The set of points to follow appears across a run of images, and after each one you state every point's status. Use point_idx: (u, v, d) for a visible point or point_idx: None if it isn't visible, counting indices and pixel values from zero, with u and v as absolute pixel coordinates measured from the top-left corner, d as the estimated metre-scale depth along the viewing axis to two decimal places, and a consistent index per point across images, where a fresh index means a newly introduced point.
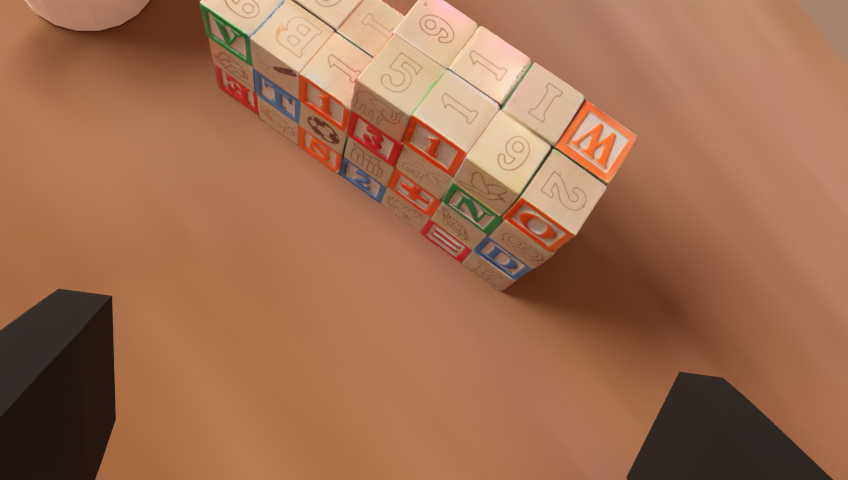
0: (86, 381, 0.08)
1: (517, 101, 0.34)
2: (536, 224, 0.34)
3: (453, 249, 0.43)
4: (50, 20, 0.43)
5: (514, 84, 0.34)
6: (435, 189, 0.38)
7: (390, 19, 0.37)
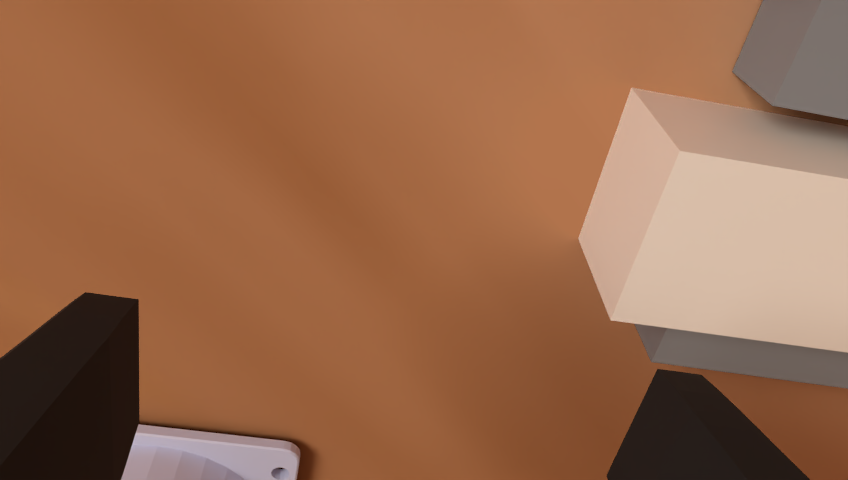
0: (114, 384, 0.08)
1: None
2: None
3: None
4: None
5: None
6: None
7: None
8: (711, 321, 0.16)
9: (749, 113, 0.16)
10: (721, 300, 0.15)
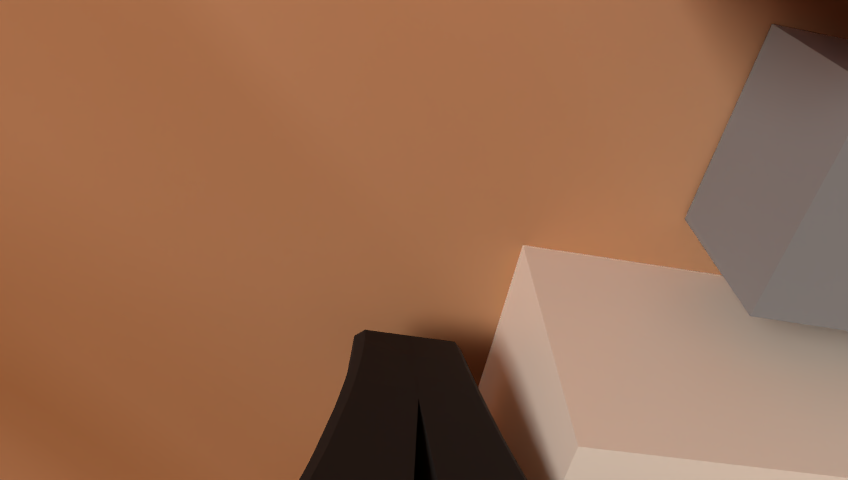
0: None
1: None
2: None
3: None
4: None
5: None
6: None
7: None
8: None
9: (728, 294, 0.09)
10: None
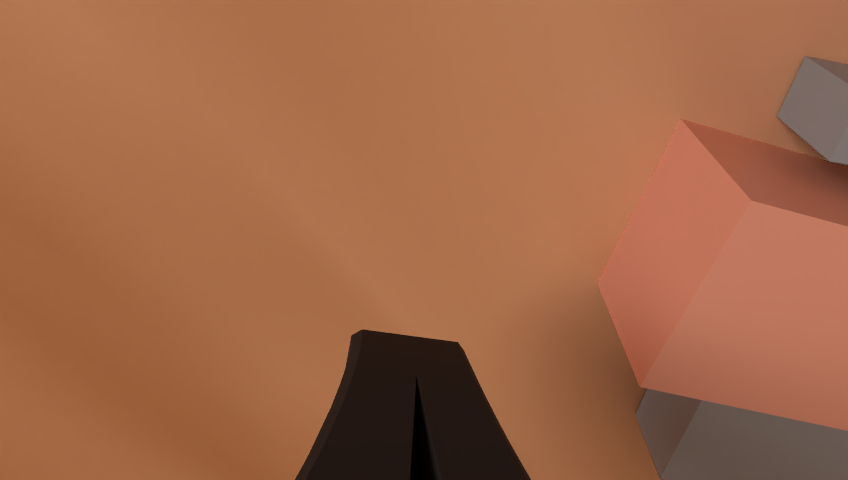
0: None
1: None
2: None
3: None
4: None
5: None
6: None
7: None
8: None
9: None
10: None
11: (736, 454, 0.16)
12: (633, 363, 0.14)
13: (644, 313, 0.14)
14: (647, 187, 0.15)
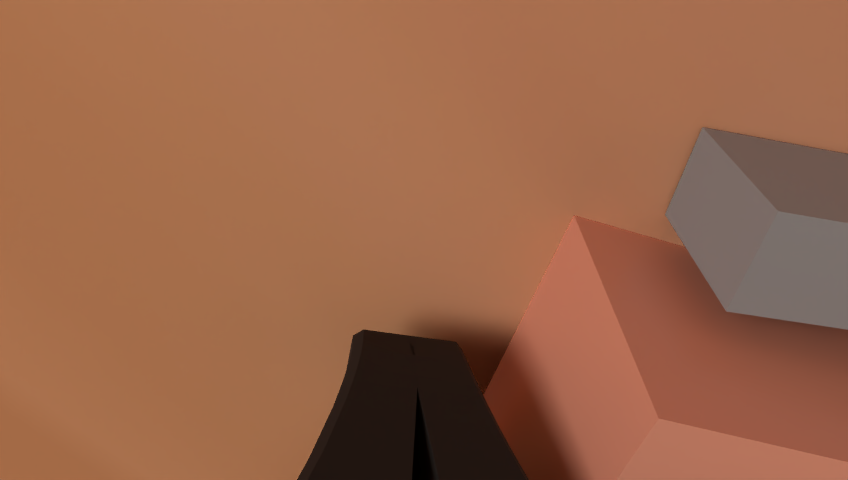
0: None
1: None
2: None
3: None
4: None
5: None
6: None
7: None
8: None
9: None
10: None
11: None
12: None
13: None
14: (531, 318, 0.10)
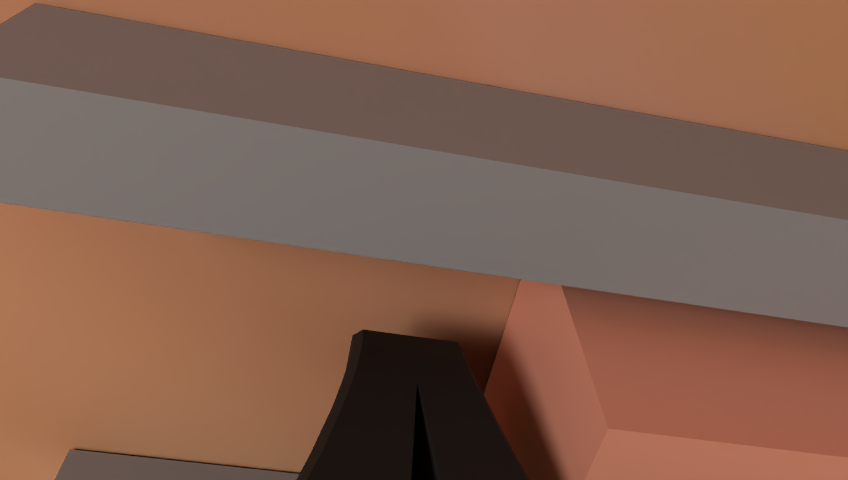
0: None
1: None
2: None
3: None
4: None
5: None
6: None
7: None
8: None
9: None
10: None
11: None
12: None
13: None
14: (512, 327, 0.10)
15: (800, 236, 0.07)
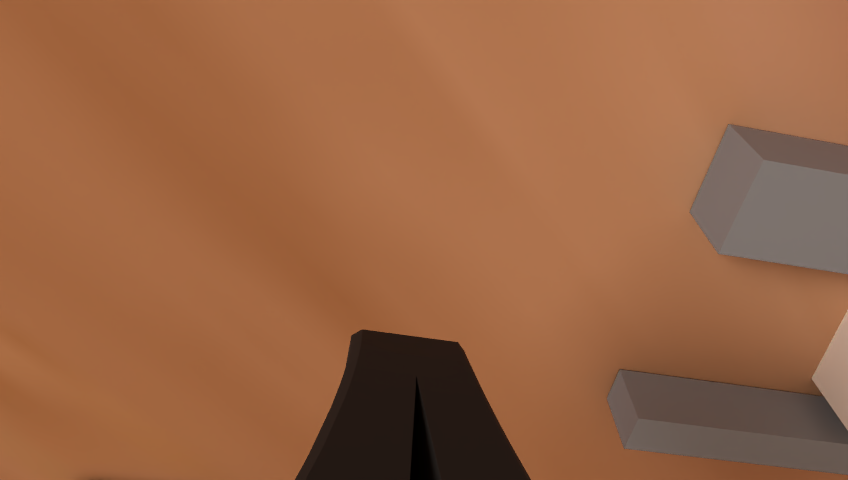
0: None
1: None
2: None
3: None
4: None
5: None
6: None
7: None
8: None
9: None
10: None
11: (791, 226, 0.17)
12: None
13: None
14: None
15: None
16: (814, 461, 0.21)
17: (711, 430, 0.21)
